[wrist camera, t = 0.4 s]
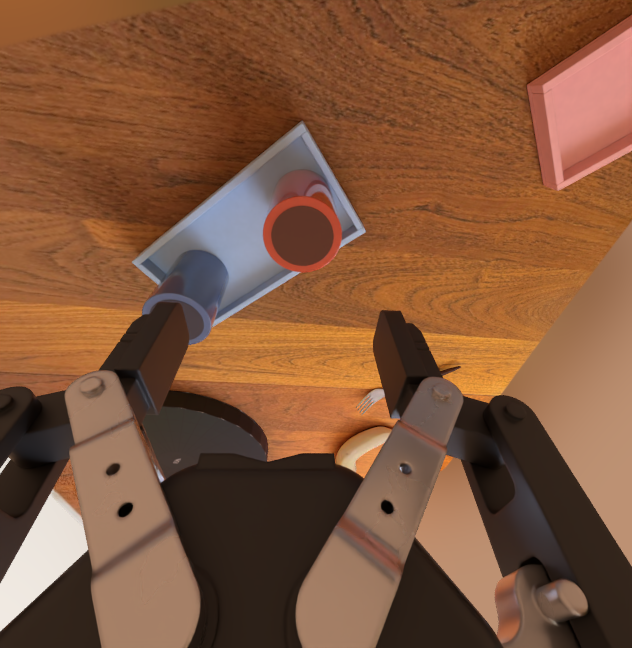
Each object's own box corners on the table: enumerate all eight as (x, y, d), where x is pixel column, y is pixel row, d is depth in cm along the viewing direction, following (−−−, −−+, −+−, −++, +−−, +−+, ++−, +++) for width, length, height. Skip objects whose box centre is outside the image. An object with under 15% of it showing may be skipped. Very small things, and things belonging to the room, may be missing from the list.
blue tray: (140, 253, 31) (131, 262, 29) (302, 119, 24) (302, 122, 22) (213, 318, 36) (210, 328, 34) (362, 224, 29) (366, 231, 28)
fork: (461, 369, 43) (467, 380, 42) (360, 405, 48) (362, 416, 46) (457, 358, 42) (463, 369, 40) (353, 396, 46) (355, 407, 45)
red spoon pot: (259, 194, 27) (245, 227, 21) (310, 154, 25) (313, 178, 19) (295, 242, 30) (294, 285, 24) (344, 210, 28) (356, 247, 22)
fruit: (320, 460, 58) (321, 477, 56) (362, 418, 50) (365, 437, 47) (352, 466, 61) (354, 484, 58) (397, 428, 52) (402, 446, 50)
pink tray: (526, 85, 23) (542, 85, 22) (662, -7, 20) (692, -14, 19) (543, 185, 28) (557, 191, 26) (656, 122, 25) (679, 124, 23)
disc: (87, 368, 40) (73, 385, 38) (293, 417, 49) (293, 434, 47) (86, 468, 57) (77, 484, 55) (241, 491, 66) (239, 507, 63)
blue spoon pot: (162, 268, 31) (126, 315, 25) (200, 238, 29) (172, 281, 23) (203, 304, 34) (180, 354, 28) (240, 280, 32) (224, 327, 26)
